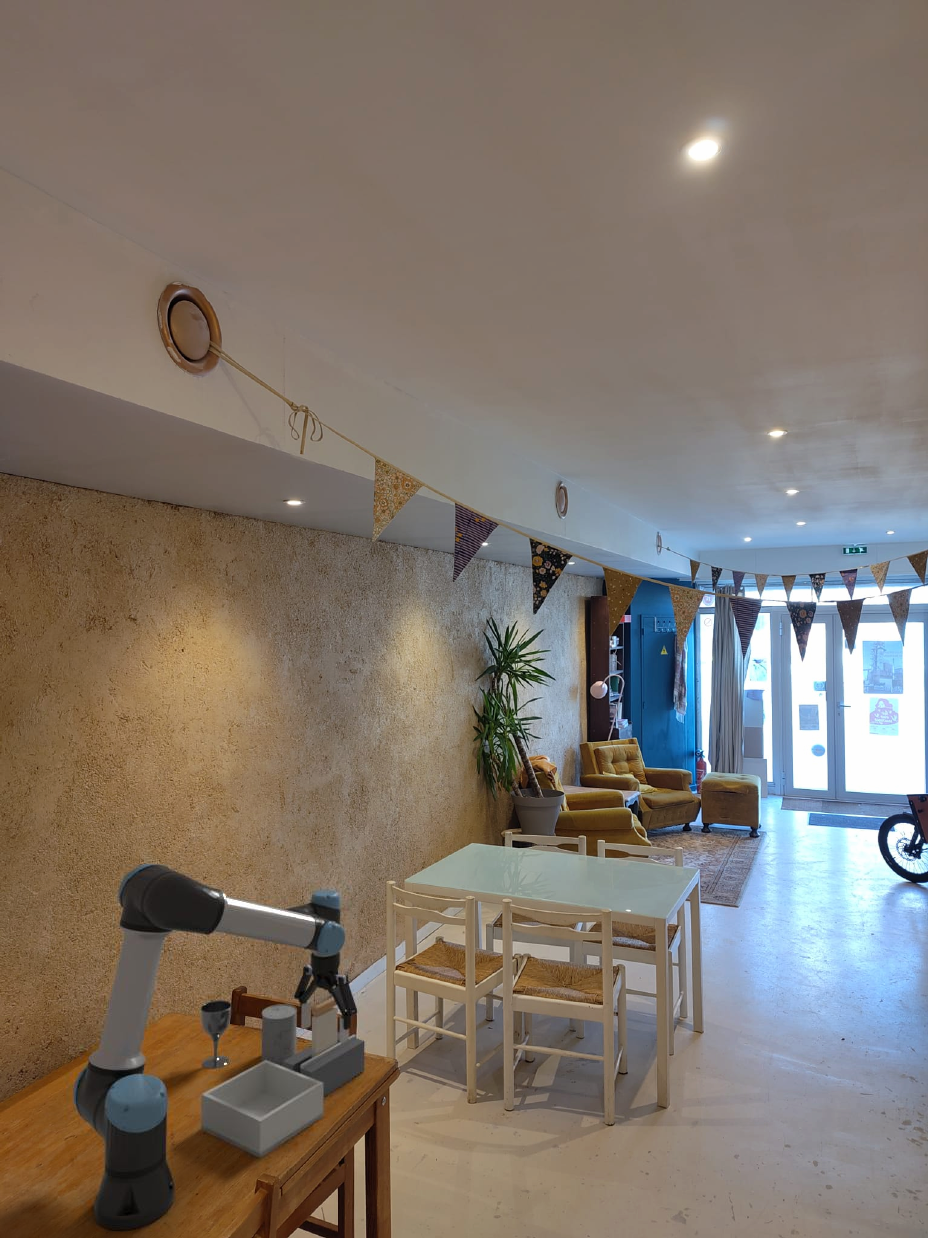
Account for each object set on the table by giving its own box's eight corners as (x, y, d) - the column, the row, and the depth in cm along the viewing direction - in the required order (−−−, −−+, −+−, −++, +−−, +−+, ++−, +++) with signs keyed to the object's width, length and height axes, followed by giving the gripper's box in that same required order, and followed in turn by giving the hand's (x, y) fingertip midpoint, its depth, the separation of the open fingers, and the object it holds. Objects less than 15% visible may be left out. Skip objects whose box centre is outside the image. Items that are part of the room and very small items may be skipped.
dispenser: (311, 1105, 205) (311, 1069, 206) (282, 1093, 211) (282, 1058, 211) (364, 1071, 222) (364, 1038, 222) (336, 1061, 227) (336, 1028, 228)
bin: (259, 1158, 184) (260, 1121, 184) (201, 1129, 195) (201, 1094, 195) (323, 1116, 200) (323, 1083, 201) (265, 1092, 211) (265, 1060, 212)
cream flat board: (315, 1074, 213) (316, 1009, 213) (311, 1072, 214) (311, 1007, 214) (337, 1061, 219) (337, 998, 220) (332, 1059, 220) (333, 997, 221)
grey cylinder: (300, 1049, 234) (301, 1005, 235) (290, 1066, 225) (290, 1020, 225) (268, 1047, 235) (268, 1003, 236) (256, 1064, 226) (256, 1018, 226)
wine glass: (194, 1067, 224) (194, 1010, 225) (211, 1053, 232) (212, 999, 232) (219, 1071, 222) (220, 1014, 222) (236, 1057, 229) (236, 1002, 230)
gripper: (371, 957, 214) (370, 1041, 213) (301, 938, 228) (300, 1017, 227) (351, 966, 208) (351, 1053, 207) (281, 946, 222) (280, 1027, 221)
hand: (324, 1034), depth 217 cm, fingers open, 13 cm apart
